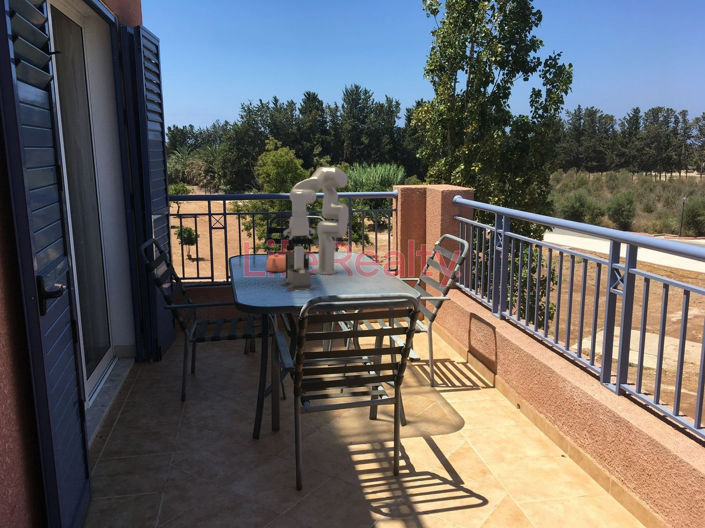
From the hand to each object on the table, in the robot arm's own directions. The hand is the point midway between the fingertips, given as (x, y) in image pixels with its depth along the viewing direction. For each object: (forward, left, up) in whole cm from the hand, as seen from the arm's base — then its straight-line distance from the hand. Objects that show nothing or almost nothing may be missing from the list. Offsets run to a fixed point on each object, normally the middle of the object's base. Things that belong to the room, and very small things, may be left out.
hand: (299, 246), depth 302 cm
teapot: (-41, -2, -23) cm, 46 cm away
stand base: (0, 0, -22) cm, 22 cm away
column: (0, 0, -16) cm, 16 cm away
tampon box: (-20, +5, -23) cm, 30 cm away
